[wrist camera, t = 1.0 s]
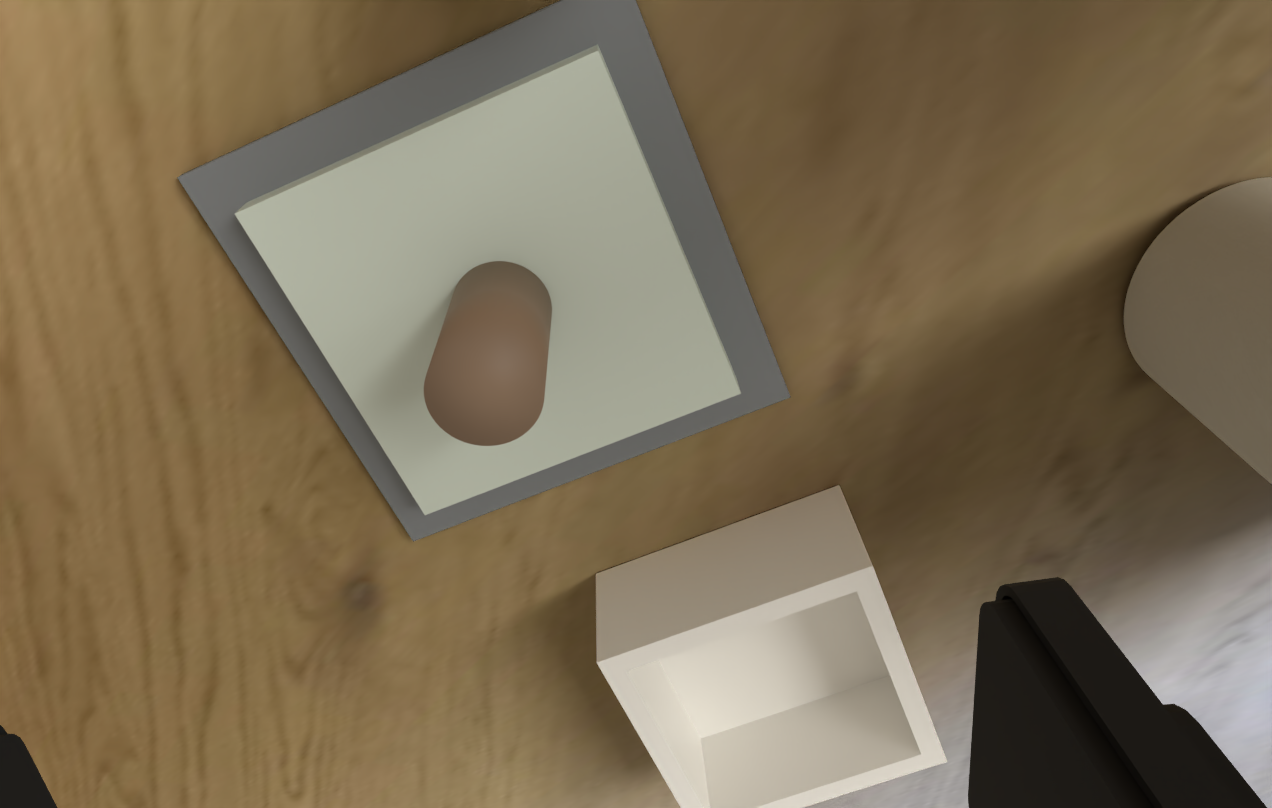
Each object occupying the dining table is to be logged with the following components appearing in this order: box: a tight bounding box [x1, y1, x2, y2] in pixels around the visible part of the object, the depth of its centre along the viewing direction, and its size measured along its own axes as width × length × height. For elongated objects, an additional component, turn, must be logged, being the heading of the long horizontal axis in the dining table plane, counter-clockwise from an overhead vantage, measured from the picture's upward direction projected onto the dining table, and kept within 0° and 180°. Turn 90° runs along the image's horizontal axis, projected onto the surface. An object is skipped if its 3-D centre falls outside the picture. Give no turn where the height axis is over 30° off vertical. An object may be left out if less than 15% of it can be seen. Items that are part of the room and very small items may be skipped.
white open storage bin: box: [596, 485, 947, 808], centre depth 38 cm, size 10×10×5 cm
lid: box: [235, 44, 741, 515], centre depth 30 cm, size 12×12×7 cm
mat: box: [177, 0, 790, 541], centre depth 33 cm, size 15×15×1 cm
